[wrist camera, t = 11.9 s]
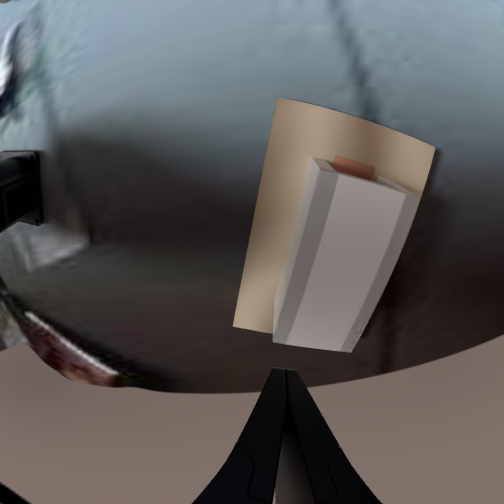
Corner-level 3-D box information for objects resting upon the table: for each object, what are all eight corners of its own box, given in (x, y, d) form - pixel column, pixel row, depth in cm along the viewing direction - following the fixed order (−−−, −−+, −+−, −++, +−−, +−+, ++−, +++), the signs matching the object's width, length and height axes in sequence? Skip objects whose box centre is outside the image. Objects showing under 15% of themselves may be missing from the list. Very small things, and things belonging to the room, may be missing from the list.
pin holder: (234, 317, 22) (226, 355, 18) (277, 98, 14) (277, 92, 11) (353, 336, 22) (362, 372, 18) (428, 145, 14) (462, 155, 11)
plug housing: (274, 301, 19) (272, 342, 16) (310, 156, 15) (321, 169, 11) (341, 312, 20) (351, 352, 16) (390, 178, 15) (419, 198, 11)
